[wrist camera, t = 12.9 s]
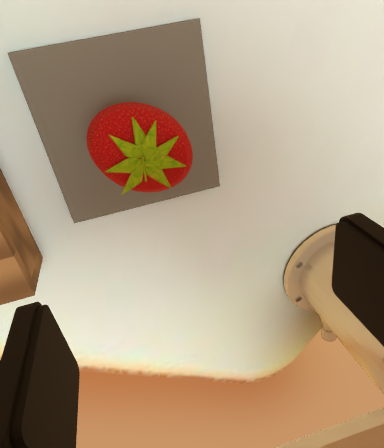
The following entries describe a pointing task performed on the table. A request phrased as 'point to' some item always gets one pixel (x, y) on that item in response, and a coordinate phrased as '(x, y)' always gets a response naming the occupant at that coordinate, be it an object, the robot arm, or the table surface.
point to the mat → (114, 94)
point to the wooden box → (16, 251)
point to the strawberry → (139, 147)
